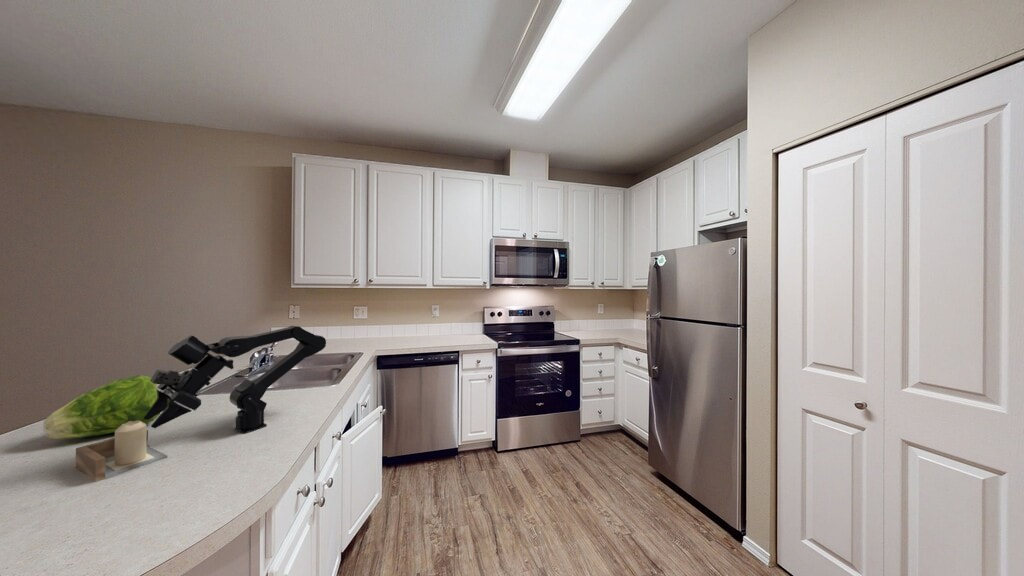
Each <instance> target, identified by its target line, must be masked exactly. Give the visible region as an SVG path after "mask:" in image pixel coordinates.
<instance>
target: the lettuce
mask: <svg viewBox="0 0 1024 576" xmlns="http://www.w3.org/2000/svg"><path fill="white" fill-rule="evenodd" d="M151 379H152V377H150V376H147V375H143V374H138V375H135V376H129V377H124V378H121V379H117V380H113V381H111V382H108V383H106V384H103V385H101V386H99V387H97V388H94V389H92V390H89V391H87V392H85V393H83V394H80V395H79V396H77V397H75V398H73V399H71V400H70V401H69V402H68V403H66V404H65V405H63V406H62V407H60V408H59V409H56V410H55V411H53V412H52V413H51V414H49V415H48V416H47V417H46V418H45V419H44V420H43V422H42V423H43V424H42V427H43V429H42V431H43V432H44V434H45V435H46V436H47V438H50V439H55V440H65V439H73V438H75V439H77V438H78V439H79V438H81V439H83V438H93V437H99V435H101V436H106V435H110V433H111V434H115V430H116V429H117V428H119V427H120V426H121V425H122V424H126V423H127V422H129V421H137V420H139V421H141V422H143V423H145V424H147V425H148V424H150V423H153V422H154V421H155V420H156V419H157V418H158V417H159V415H160V414H161V413H159V414H157V415H156V416H154V417H152V418H150V419H148V420H146V419H144V416H145V415H146V413H147V412H148V411H149V409H150V408H151V406H152V405H153V404H154V402H155V401H156V399H157V392H156V391H157V390H159V388H157V387H158V386H157V384H154V383H152V381H150V380H151ZM105 434H106V435H105Z"/></svg>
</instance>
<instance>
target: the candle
mask: <svg viewBox="0 0 1024 576" xmlns="http://www.w3.org/2000/svg"><path fill="white" fill-rule="evenodd" d="M147 427H148V424H145V423H143V422H141V421H139V420H137V421H129V422H127V423H126V424H122V425H121V426H120V427H119V428H117V429H116V430H115V433H114V438H115V459H114V460H115V465H126V464H130V463H134V462H137V461H139V460H142V459H143V458H145V457H146V436H147V430H148V429H147Z"/></svg>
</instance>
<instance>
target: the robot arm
mask: <svg viewBox="0 0 1024 576" xmlns="http://www.w3.org/2000/svg"><path fill="white" fill-rule="evenodd" d="M290 339H294V340H295V341H297V342H298V344H297V345H296V347H295V349H294V350H293V351H291V352H290V353H288V354H287V355H286V356H285V357H284V358H282V359H281V360H280V361H278V362H277V363H276V364H274V365H273V366H272V367H270V368H268V369H267V370H266V371H265V372H264V373H262V374H261V375H260V376H258V377H257V378H255V379H253V380H249V379H247V378H246V379H244V380H243V381H242V382H240V384H239V385H237V386H233V390H232V391H231V392H230V394H229V401H230V404H232V405H234V406H236V408H237V409H239V410H237V414H236V416H235V427H234V430H235V431H238V432H241V433H243V434H247V433H250V432H252V431H256V430H258V429H261V428H264V427H265V428H266V427H267V423H265V410H266V407H267V402H265V401H263V400H262V398H263V396H264V395H265V394H266V391H267V390H268V389H269V387H271V386H272V385H273V384H275V383H276V382H277V381H278V380H279V379H281V378H282V377H283V376H284V375H286V374H287V373H288V372H290V371H291V370H292V369H294V368H295V367H297V365H299V363H301V362H302V361H303V360H305V359H306V358H308V357H311V356H314V355H316V354H318V353H319V352H321V351H323V350H324V349H325V348H326V347H327V345H326V344H327V340H326V338H325V337H324V336H322V335H319V334H314V333H312V332H310V331H308V330H306V329H304V328H302V327H301V326H298V325H290V326H287V327H284V328H279V329H275V330H271V331H266V332H261V333H257V334H252V335H238V336H235V335H234V336H227V337H224V338H221V339H220V340H219V341H218V342H213V343H209V344H208V343H207V344H205V343H204V342H203V341H201V340H200V339H198V338H197V336H195V335H189V336H188V337H186V338H183V339H182V340H180V341H179V342H176V344H174V345H173V346H171V348H169V350H168V351H167V354H168V355H170V356H171V357H173V358H175V359H177V360H178V361H180V362H182V363H183V364H185V365H187V366H189V365H192V364H194V365H195V366H194V367H192V368H191V369H190V370H189V369H187V370H184V371H183V372H182V373H180V372H179V371H177V370H171V369H169V370H162V369H156V370H155V372H154V374H153V376H152V377H151V380H150V381H152V383H154V384H156V385H158V386H157V388H158V390H157V391H156V392H157V399H156V401H155V402H154V404H153V405H152V406H151V408H150V409H149V411H148V412H147V413H146V415H145V416H144V419H146V420H148V419H150V418H152V417H154V416H156V415H157V414H159V413H160V415H159V416H158V417H157V418H156V419H155V420H154V421H153V422H152V424H151V425H150V427H151V428H153V429H157V428H159V427H161V426H162V425H165V424H166V423H169V422H170V421H172V420H175V419H177V418H179V417H181V416H183V415H185V414H189V413H191V412H192V410H193V411H196V410H197V409H199V408H200V407H201V405H202V399H200V398H199V397H198V396H199V395H198V393H199V392H200V391H201V390H202V389H203V388H204V387H205V386H206V387H208V386H209V385H211V382H210V381H211V380H212V379H214V377H215V376H216V375H218V374H219V373H220V372H221V371H222V370H223V369H224V368H225V367H226V368H227V369H229V370H233V369H234V368H235V367H234V360H233V359H231V358H237V357H240V356H242V355H244V354H247V353H249V352H251V351H252V350H255V349H257V348H259V347H263V346H268V345H270V344H271V345H272V344H275V343H278V342H282V341H286V340H290ZM209 352H210V353H209ZM211 353H213V354H216V355H213V354H211ZM222 355H223V356H222ZM225 356H226V357H228V358H230V359H226V358H225Z"/></svg>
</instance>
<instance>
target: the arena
mask: <svg viewBox="0 0 1024 576" xmlns="http://www.w3.org/2000/svg"><path fill="white" fill-rule="evenodd" d="M166 458H168V454H165V453H163V452H161V451H159V450H157V449H155V448H153V447H151V446H149V430H148V429H147V436H146V457H145V458H143V459H142V460H139V461H137V462H134V463H130V464H126V465H115V460H114V459H115V437H112V438H108V439H105V440H101V441H97V442H95V443H90V444H87V445H83V446H80V447H79V446H78V447H76V448H75V469H77V471H78V470H79V471H80V472H81V473H83V474H84V475H85V476H86V477H90V478H89V479H90V480H92V481H94V482H95V483H96V482H99V481H103V480H104V479H105V480H106V479H108V478H111V477H113V476H116V475H119V474H123V473H126V472H128V471H132V470H135V469H137V468H140V466H141V467H143V466H147V465H149V464H152V463H156V462H158V461H161V460H164V459H166ZM134 468H135V469H134Z"/></svg>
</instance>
